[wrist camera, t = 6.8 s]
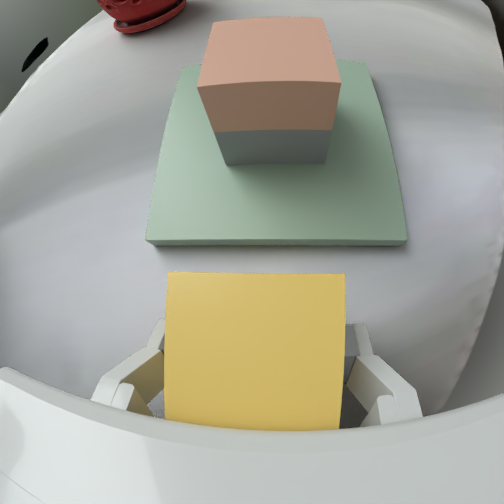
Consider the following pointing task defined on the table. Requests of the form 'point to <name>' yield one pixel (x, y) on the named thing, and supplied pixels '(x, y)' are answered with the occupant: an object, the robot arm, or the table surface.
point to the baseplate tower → (275, 145)
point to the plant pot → (140, 13)
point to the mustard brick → (255, 350)
